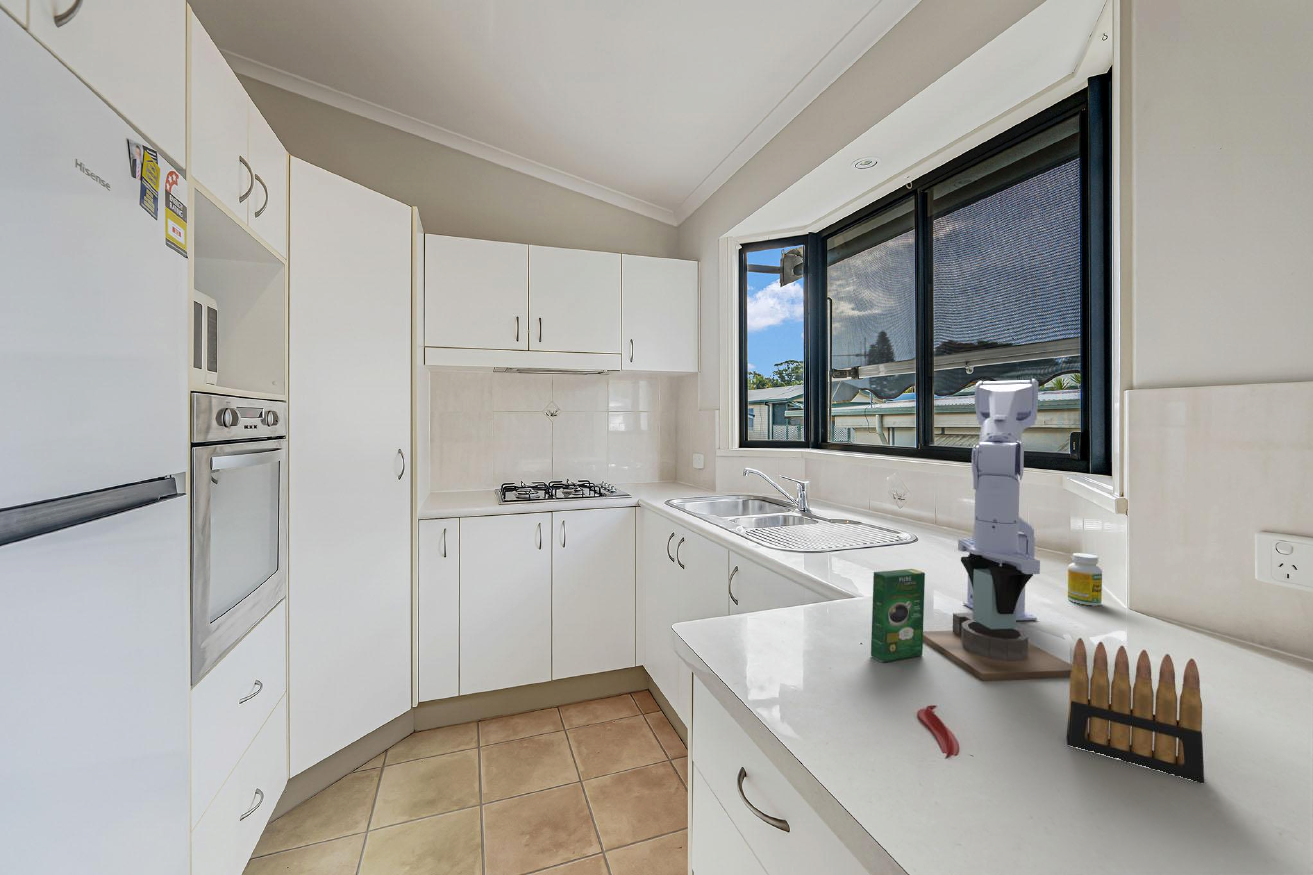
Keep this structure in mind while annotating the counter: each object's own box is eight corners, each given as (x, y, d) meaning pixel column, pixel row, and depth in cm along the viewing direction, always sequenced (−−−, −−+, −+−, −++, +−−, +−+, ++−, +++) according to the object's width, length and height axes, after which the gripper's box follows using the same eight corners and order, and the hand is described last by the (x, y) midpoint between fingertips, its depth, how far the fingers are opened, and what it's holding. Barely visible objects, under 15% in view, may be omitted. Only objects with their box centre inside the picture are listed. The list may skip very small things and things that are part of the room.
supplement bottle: (1073, 596, 110) (1074, 550, 110) (1105, 603, 106) (1106, 556, 105) (1063, 600, 107) (1064, 554, 107) (1095, 608, 103) (1096, 559, 102)
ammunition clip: (1067, 746, 58) (1070, 638, 58) (1066, 738, 60) (1068, 633, 59) (1204, 784, 52) (1208, 664, 52) (1199, 774, 53) (1202, 657, 53)
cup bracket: (918, 637, 88) (918, 613, 88) (1002, 634, 89) (1002, 611, 89) (982, 680, 73) (983, 652, 73) (1081, 676, 74) (1082, 648, 74)
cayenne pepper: (919, 704, 67) (919, 689, 67) (960, 714, 65) (961, 699, 65) (909, 753, 57) (909, 736, 57) (958, 768, 55) (958, 750, 55)
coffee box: (910, 648, 83) (911, 566, 83) (925, 656, 81) (926, 571, 80) (869, 655, 81) (870, 571, 80) (883, 663, 78) (885, 576, 78)
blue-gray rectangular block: (972, 619, 83) (973, 568, 83) (996, 618, 83) (997, 568, 83) (991, 629, 79) (992, 576, 79) (1015, 628, 79) (1017, 575, 79)
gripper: (941, 512, 87) (939, 593, 88) (1007, 529, 73) (1005, 626, 73) (981, 512, 88) (979, 592, 88) (1054, 529, 74) (1052, 625, 74)
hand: (994, 608), depth 81 cm, fingers closed on blue-gray rectangular block, 4 cm apart
